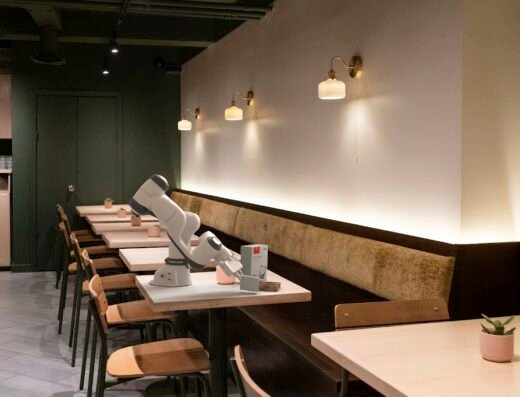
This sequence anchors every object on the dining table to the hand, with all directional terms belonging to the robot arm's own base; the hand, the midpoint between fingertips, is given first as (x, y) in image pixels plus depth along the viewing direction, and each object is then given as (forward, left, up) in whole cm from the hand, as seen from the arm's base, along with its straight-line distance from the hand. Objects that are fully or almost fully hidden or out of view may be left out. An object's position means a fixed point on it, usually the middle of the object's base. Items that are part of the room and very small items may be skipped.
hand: (242, 278), depth 323 cm
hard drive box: (-2, +33, -7) cm, 34 cm away
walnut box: (+10, +13, -7) cm, 18 cm away
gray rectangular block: (+8, 0, -2) cm, 9 cm away
